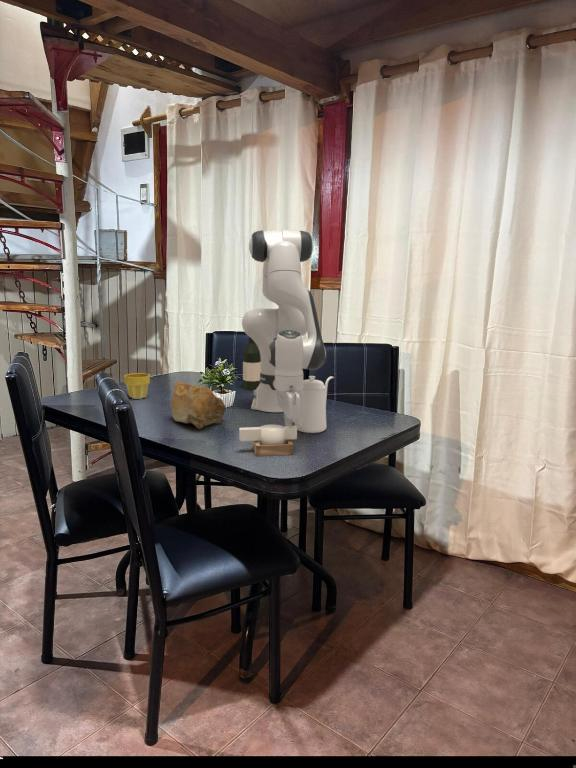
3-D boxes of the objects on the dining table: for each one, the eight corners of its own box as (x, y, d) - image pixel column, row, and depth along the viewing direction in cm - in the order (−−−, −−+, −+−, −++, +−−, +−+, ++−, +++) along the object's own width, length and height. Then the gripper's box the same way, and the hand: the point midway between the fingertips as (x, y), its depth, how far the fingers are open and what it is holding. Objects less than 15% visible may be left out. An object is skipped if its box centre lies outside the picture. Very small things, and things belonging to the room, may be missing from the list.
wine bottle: (264, 388, 263) (265, 322, 257) (254, 391, 256) (254, 324, 250) (249, 385, 268) (250, 321, 261) (239, 388, 261) (239, 322, 255)
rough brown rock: (238, 430, 199) (240, 387, 197) (193, 433, 189) (195, 388, 187) (208, 417, 218) (210, 378, 216) (167, 419, 208) (168, 378, 207)
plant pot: (129, 394, 245) (128, 372, 243) (153, 395, 245) (152, 373, 243) (121, 400, 235) (120, 377, 233) (146, 401, 234) (145, 377, 232)
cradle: (252, 446, 178) (252, 437, 178) (288, 445, 180) (288, 436, 180) (256, 456, 170) (256, 446, 169) (293, 454, 172) (293, 444, 171)
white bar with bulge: (238, 447, 178) (238, 425, 177) (293, 445, 181) (293, 423, 180) (240, 455, 171) (240, 432, 169) (298, 452, 174) (298, 430, 172)
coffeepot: (344, 424, 205) (346, 373, 201) (301, 440, 186) (302, 383, 182) (320, 419, 212) (321, 369, 208) (276, 433, 193) (276, 378, 189)
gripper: (305, 389, 169) (304, 435, 172) (292, 377, 189) (292, 418, 192) (284, 390, 168) (284, 435, 171) (273, 377, 188) (273, 418, 191)
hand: (288, 426), depth 181 cm, fingers closed
